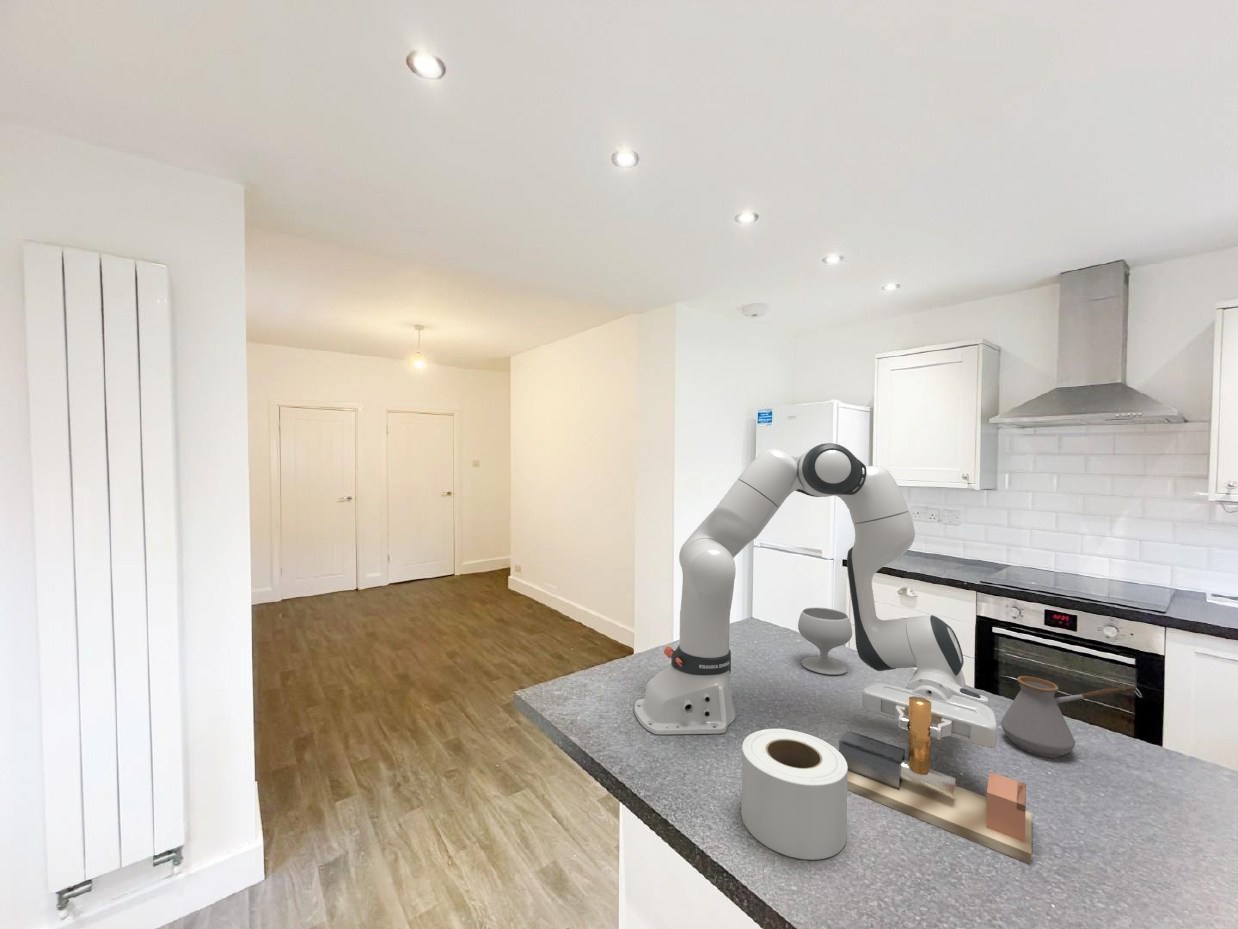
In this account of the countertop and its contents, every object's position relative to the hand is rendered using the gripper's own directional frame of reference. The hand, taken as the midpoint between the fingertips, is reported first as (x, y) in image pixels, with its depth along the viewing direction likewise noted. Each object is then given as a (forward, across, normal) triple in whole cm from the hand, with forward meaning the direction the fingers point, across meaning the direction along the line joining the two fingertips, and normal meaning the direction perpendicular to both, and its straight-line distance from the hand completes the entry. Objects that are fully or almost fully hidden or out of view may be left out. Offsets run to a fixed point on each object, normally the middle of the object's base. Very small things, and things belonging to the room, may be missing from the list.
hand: (918, 729), depth 82 cm
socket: (-1, +12, +10) cm, 16 cm away
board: (-1, +1, +12) cm, 12 cm away
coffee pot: (-37, +20, +12) cm, 44 cm away
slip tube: (-1, -3, +10) cm, 10 cm away
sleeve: (-1, -7, +11) cm, 13 cm away
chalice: (-48, -30, +12) cm, 58 cm away
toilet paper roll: (+19, -14, +12) cm, 26 cm away
